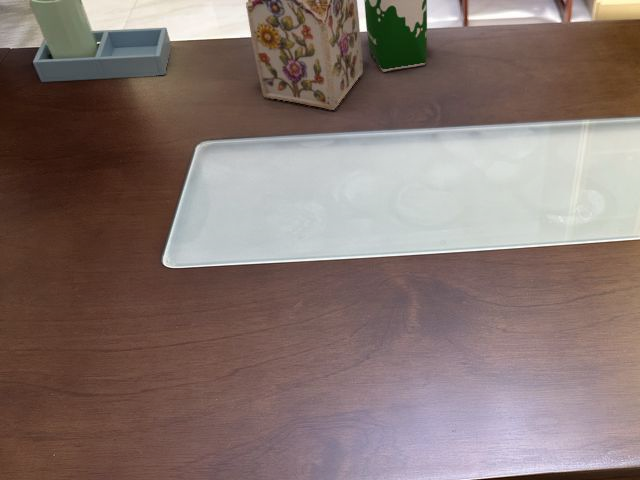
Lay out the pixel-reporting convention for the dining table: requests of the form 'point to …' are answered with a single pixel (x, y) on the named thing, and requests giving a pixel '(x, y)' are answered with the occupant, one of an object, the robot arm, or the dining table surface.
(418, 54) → the milk carton
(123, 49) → the divided tray
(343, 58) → the decorative jar
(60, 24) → the cup
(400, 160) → the dining table surface
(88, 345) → the dining table surface
